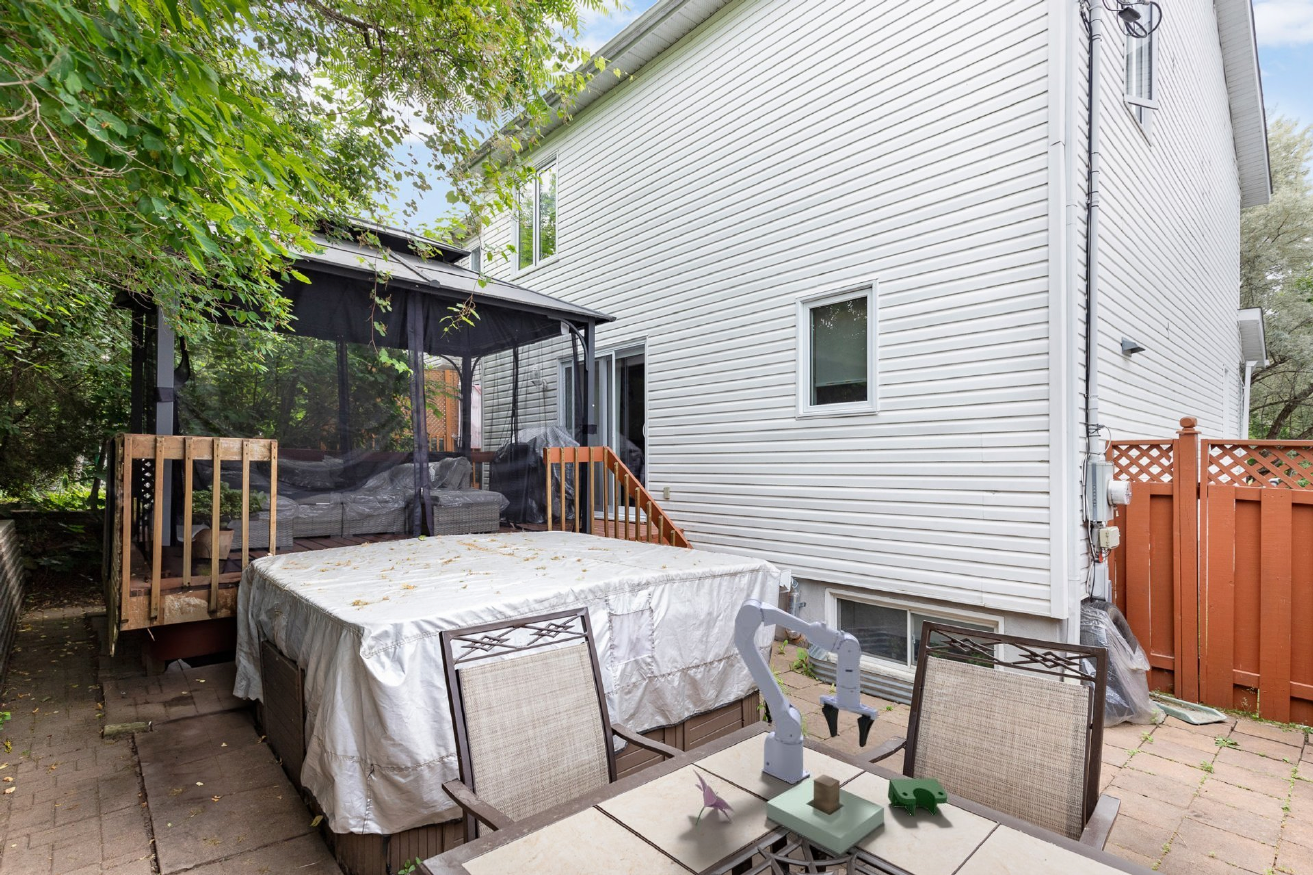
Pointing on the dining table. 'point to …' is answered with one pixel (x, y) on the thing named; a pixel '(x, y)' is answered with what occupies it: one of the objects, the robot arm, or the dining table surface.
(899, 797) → the clamp
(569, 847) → the dining table surface
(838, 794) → the post
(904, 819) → the dining table surface
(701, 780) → the lily
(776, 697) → the robot arm
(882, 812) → the well block
